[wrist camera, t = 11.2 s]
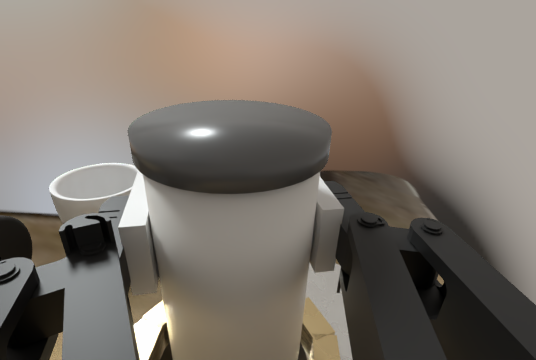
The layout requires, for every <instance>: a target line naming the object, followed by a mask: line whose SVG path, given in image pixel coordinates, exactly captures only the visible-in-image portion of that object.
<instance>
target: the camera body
mask: <svg viewBox="0 0 536 360" xmlns="http://www.w3.org/2000/svg"><path fill="white" fill-rule="evenodd" d="M340 269H341V266H340V265H338V264H335V267H334V271H326V272H318V273H314V270H313V268H312V266H311V264H310V263H309V271H308V280H307V289H306V297H305V306H304V314H303V323H302V331H301V340H300V349H299V355H298V360H353V359H352V353H351V347H350V340H349V334H348V328H347V322H346V316H345V309H344V303H343V297H342V291H341V288H340V293H337V286H338V280H339V275H340ZM134 330H135V335H136V341H137V346H138V352H139V357H140V360H173V358H172V352H171V346H170V340H169V334H168V327H167V321H166V315H165V309H164V303H163V301H161V302H160V303H159V304H158V305H156V306H155V307H154V308H153V309H151V310H150V311H149V312H148V313H146V314H145V315H144V316H143V319H141V320H140V321H139V322H138V323H136V324H135V325H134Z"/></svg>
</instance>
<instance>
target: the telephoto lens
mask: <svg viewBox="0 0 536 360" xmlns="http://www.w3.org/2000/svg"><path fill="white" fill-rule="evenodd" d="M331 133H332V131H331V127H330V125H329V124H328V123H327V122H326V121H325V120H324V119H322V118H321V117H319V116H317V115H315V114H313V113H311V112H308V111H305V110H302V109H299V108H295V107H291V106H287V105H281V104H276V103H268V102H259V101H245V100H215V101H201V102H192V103H184V104H178V105H173V106H169V107H165V108H161V109H158V110H155V111H152V112H149V113H147V114H144V115H142V116H141V117H139V118H137V119H136V120H135V121H133V122H132V123H131V125H130V126H129V128H128V136H129V142H130V147H131V153H132V159H133V163H134V165H135V167H136V168H137V169H138V170H139V172H140V173H142V174H143V179H144V186H145V192H146V198H147V204H148V210H149V216H150V223H151V229H152V235H153V241H154V247H155V253H156V260H157V266H158V272H159V278H160V284H161V290H162V297H163V303H164V309H165V315H166V321H167V327H168V334H169V340H170V346H171V352H172V358H173V360H298V355H299V349H300V340H301V331H302V323H303V314H304V306H305V297H306V289H307V280H308V271H309V263H310V254H311V246H312V237H313V229H314V220H315V211H316V203H317V194H318V186H319V177H320V171H321V170H322V169H323V168H324V167H325V165H326V163H327V161H328V157H329V150H330V142H331Z"/></svg>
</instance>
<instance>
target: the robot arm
mask: <svg viewBox="0 0 536 360" xmlns="http://www.w3.org/2000/svg"><path fill="white" fill-rule="evenodd" d="M59 234H60V237H61V240H62V243H63V246H64V249H65V253H66V258H64V259H62V260H59V261H56V262H53V263H50V264H46V265H43V266H39V267H36V268H35V266H34V263H33V262H32V260H30V259H27V258H11V259H6V260H2V261H0V360H49V359H50V356H51V353H52V351H53V348H54V345H55V343H56V340H57V337H58V333H60V332H63V345H62V360H140V357H139V352H138V346H137V341H136V335H135V330H134V324H133V319H132V313H131V307H130V302H129V298H128V292H129V287H130V285H131V290H132V295H140V294H148V293H156V292H157V286H158V279H159V272H158V266H157V260H156V253H155V247H154V241H153V235H152V229H151V223H150V216H149V210H148V204H147V198H146V192H145V186H144V179H143V174H142V173H140V172H139V170H138V173H137V175H136V178H135V181H134V184H133V187H132V190H131V192H130V195H126V196H111V197H110V198H109V199H107V200H106V201H105V202H104V203H102V205H101V207H100V209H99V211H98V213H90V214H84V215H80V216H77V217H74V218H72V219H70V220H68V221H67V222H66V223H64V224H63V225H62V226H61V228H60V230H59ZM336 259H337V260H338V262H339V264H340V266H341V269H340V275H339V280H338V286H337V293H340V288H341V291H342V297H343V303H344V309H345V316H346V322H347V328H348V334H349V340H350V347H351V353H352V359H353V360H536V305H535V304H534V303H533V302H531V301H530V300H529V299H528V298H527V297H526V296H525V295H524V294H523V293H522V292H520V291H519V290H518V289H517V288H516V287H515V286H514V285H513V284H511V283H510V282H509V281H508V280H507V279H506V278H505V277H504V276H503V275H501V274H500V273H499V272H498V271H497V270H496V269H495V268H494V267H492V266H491V265H490V264H489V263H488V262H487V261H486V260H485V259H484V258H482V257H481V256H480V255H479V254H478V253H477V252H476V251H475V250H473V249H472V248H471V247H470V246H469V245H468V244H467V243H465V241H463V240H462V239H461V238H460V237H459V236H458V235H457V234H456V233H454V232H453V231H452V230H451V229H450V228H449V227H447V226H446V225H445V224H443V223H441V222H439V221H437V220H434V219H430V218H417V219H414V220H413V221H411V224H410V228H409V229H404V228H395V227H389V226H388V223H387V222H386V221H385V220H384V219H383V218H382V217H380V216H378V215H376V214H373V213H368V212H364V210H363V209H362V208H361V207H360V206H359V205H358V203H357V202H356V201H355V200H354V199H353V198H352V196H351V195H350V194H349V193H348V192H347V191H346V189H345V188H344V187H343V186H342V185H340V184H338V183H336V182H335V181H323V180H322V179H321V178H320V177H319V186H318V194H317V203H316V211H315V220H314V229H313V237H312V246H311V254H310V264H311V266H312V268H313V270H314V273H318V272H326V271H334V267H335V261H336ZM438 274H439V275H440V276H441V277H442V278H443V280H444V284H443V285H441V284H440V283H439V282H438V280H437V277H438Z"/></svg>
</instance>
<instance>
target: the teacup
mask: <svg viewBox="0 0 536 360" xmlns="http://www.w3.org/2000/svg"><path fill="white" fill-rule="evenodd" d="M137 173H138V169H137V168H136V167H135V166H134V165H129V164H123V163H103V164H95V165H89V166H85V167H81V168H78V169H74V170H71V171H69V172H66V173H64V174H62V175H61V176H59V177H57V178H56V179H55V180H54V181H53V182H52V183H51V184H50V186H49V191H50V194H51V197H52V199H53V202H54V205H55V208H56V210H57V212H58V215H59V217H60V219H61V221H62V223H63V224H64V223H66V222H67V221H68V220H70V219H72V218H74V217H77V216H80V215H84V214H90V213H98V211H99V209H100V207H101V205H102V203H104V202H105V201H106V200H107V199H109V198H110V197H111V196H126V195H130V192H131V190H132V187H133V184H134V181H135V178H136V175H137Z"/></svg>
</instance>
